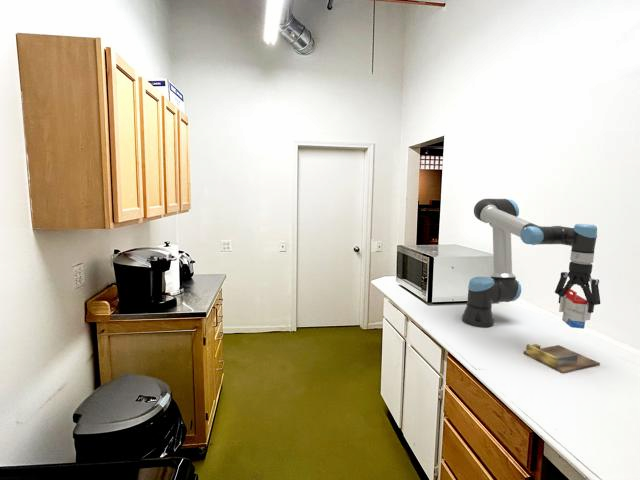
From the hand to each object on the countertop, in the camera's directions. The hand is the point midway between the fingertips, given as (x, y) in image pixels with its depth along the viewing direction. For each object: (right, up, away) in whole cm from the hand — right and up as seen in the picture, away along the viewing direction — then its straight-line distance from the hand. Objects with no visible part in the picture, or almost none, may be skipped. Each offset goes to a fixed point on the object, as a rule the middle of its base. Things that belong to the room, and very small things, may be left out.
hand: (574, 315), depth 146 cm
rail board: (-6, -18, 0) cm, 19 cm away
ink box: (0, -4, +1) cm, 4 cm away
